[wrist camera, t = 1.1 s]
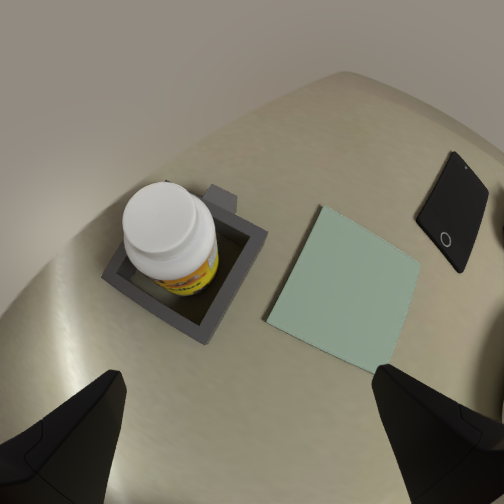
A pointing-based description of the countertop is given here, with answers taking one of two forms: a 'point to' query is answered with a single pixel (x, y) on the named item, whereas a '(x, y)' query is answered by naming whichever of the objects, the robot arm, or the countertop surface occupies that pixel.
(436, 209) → the cell phone
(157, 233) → the supplement bottle
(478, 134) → the countertop surface
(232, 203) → the collar
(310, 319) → the mat
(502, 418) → the serving bowl
